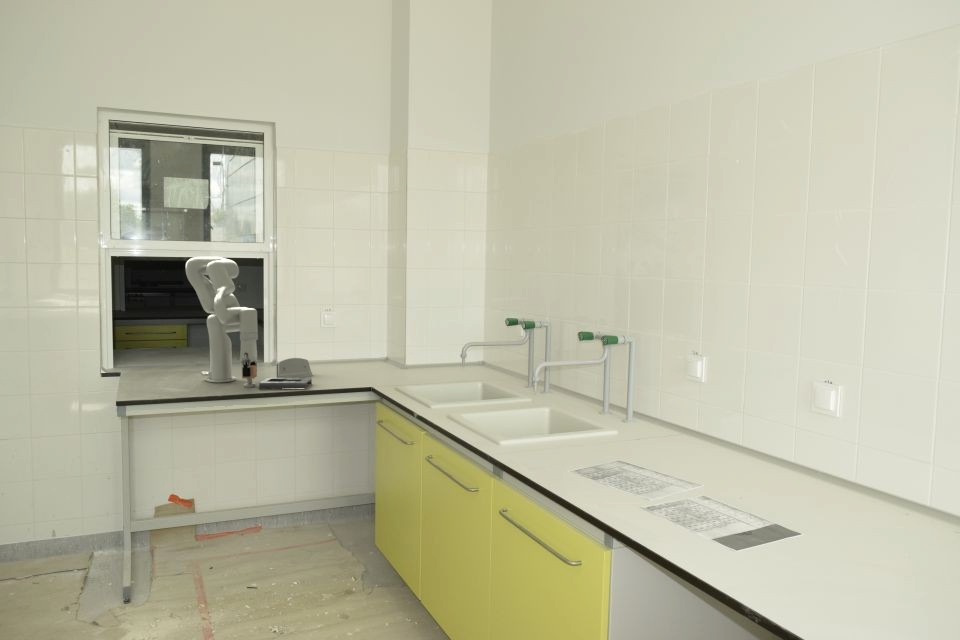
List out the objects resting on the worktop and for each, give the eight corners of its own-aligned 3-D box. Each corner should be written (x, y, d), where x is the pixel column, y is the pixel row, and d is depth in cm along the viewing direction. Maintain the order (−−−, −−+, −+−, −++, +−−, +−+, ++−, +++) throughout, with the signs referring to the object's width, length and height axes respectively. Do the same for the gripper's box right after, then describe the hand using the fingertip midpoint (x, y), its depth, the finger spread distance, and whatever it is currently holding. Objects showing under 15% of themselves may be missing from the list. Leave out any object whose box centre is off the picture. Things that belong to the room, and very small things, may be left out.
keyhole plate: (259, 389, 314) (259, 382, 313) (267, 383, 327) (267, 377, 326) (305, 389, 314) (305, 383, 314) (311, 383, 327) (311, 377, 327)
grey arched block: (280, 379, 338) (276, 358, 340) (276, 381, 342) (273, 360, 344) (313, 375, 348) (310, 355, 350) (309, 377, 352) (306, 357, 354)
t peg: (242, 387, 318) (241, 367, 317) (245, 385, 322) (245, 365, 322) (253, 387, 318) (253, 367, 317) (257, 385, 323) (256, 365, 322)
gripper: (246, 334, 326) (247, 371, 328) (234, 338, 309) (235, 378, 311) (262, 334, 327) (263, 371, 328) (251, 338, 309) (252, 378, 311)
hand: (250, 374), depth 319 cm, fingers open, 9 cm apart
